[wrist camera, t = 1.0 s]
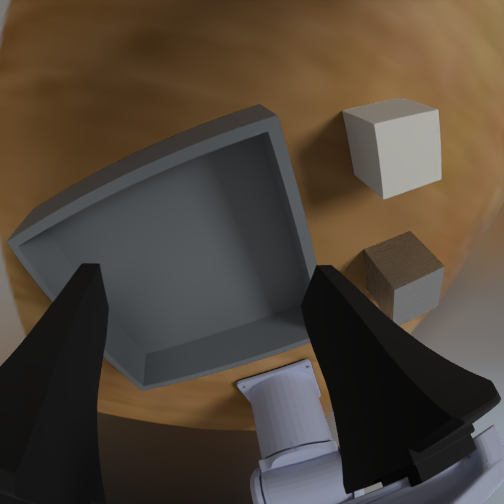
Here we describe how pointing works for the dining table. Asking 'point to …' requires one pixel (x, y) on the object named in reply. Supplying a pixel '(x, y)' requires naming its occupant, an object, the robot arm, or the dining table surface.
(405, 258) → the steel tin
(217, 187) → the tote
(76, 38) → the dining table surface
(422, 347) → the robot arm
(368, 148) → the white cube
